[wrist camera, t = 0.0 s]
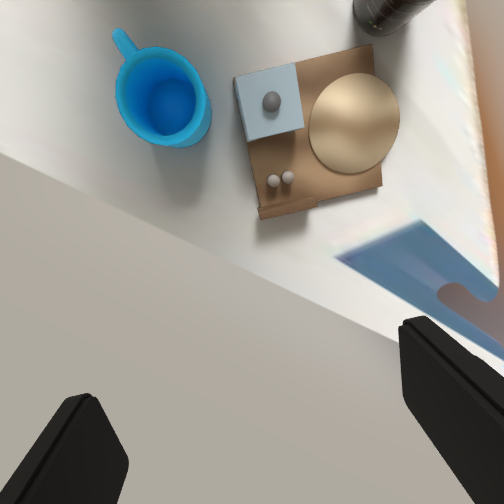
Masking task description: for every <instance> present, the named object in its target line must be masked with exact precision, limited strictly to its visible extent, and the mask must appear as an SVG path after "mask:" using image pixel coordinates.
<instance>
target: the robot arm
mask: <svg viewBox="0 0 504 504" xmlns="http://www.w3.org/2000/svg"><path fill="white" fill-rule="evenodd" d="M398 333H399V346H400V347H399V348H400V362H401V377H402V390H403V397H404V400H405V403H406V405H407V407H408V408H409V410H410V411H411V412H412V414H413V415H414V417H415V418H416V420H417V421H418V423H419V424H420V425H421V427H422V428H423V430H424V431H425V433H426V434H427V435H428V437H429V438H430V440H431V441H432V442H433V444H434V446H435V447H436V448H437V450H438V451H439V453H440V454H441V456H442V457H443V458H444V460H445V461H446V463H447V464H448V465H449V467H450V469H451V470H452V471H453V473H454V474H455V476H456V477H457V479H458V480H459V481H460V483H461V484H462V486H463V487H464V489H465V490H466V491H467V493H468V494H469V496H470V497H471V498H472V500H473V502H474V503H475V504H504V377H503V376H502V375H500V374H499V373H498V372H497V371H495V370H494V369H493V368H492V367H491V366H489V365H488V364H487V363H486V362H484V361H483V360H482V359H480V358H479V357H477V356H475V355H473V354H472V353H470V352H469V351H468V350H467V349H466V348H464V347H463V346H462V345H461V344H459V343H458V342H457V341H456V340H455V339H453V338H452V337H451V336H450V335H449V334H447V333H446V332H445V331H444V330H443V329H441V328H440V327H439V326H438V325H436V324H435V323H434V322H433V321H432V320H430V319H429V318H428V317H426V316H418V317H414V318H410V319H405V320H404V321H403V325H402V326H399V328H398ZM128 467H129V460H128V456H127V454H126V452H125V451H124V449H123V447H122V445H121V443H120V441H119V439H118V437H117V435H116V433H115V431H114V430H113V427H112V426H111V424H110V422H109V420H108V418H107V416H106V414H105V412H104V410H103V408H102V407H101V404H100V402H99V401H98V399H97V398H96V397H93V396H92V395H91V394H89V393H85V394H80V395H76V396H72V397H68V398H66V399H65V400H64V402H63V403H62V404H61V406H60V407H59V409H58V410H57V412H56V413H55V414H54V416H53V417H52V419H51V420H50V422H49V423H48V424H47V426H46V427H45V429H44V430H43V432H42V433H41V434H40V436H39V437H38V439H37V440H36V442H35V443H34V445H33V446H32V448H31V449H30V450H29V452H28V453H27V455H26V456H25V458H24V459H23V461H22V462H21V463H20V465H19V466H18V468H17V469H16V471H15V472H14V474H13V475H12V476H11V478H10V479H9V481H8V482H7V484H6V485H5V486H4V488H3V490H2V491H1V492H0V504H117V502H118V499H119V496H120V493H121V490H122V487H123V483H124V481H125V478H126V475H127V472H128Z"/></svg>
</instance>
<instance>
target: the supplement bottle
mask: <svg viewBox="0 0 504 504" xmlns="http://www.w3.org/2000/svg"><path fill="white" fill-rule="evenodd" d="M434 1H436V0H354V11H355V15H356V18H357V21H358V22H359V24H360V26H361V27H362V28H363V29H364V30H365V31H366V32H368V33H370V34H372V35H376V36H384V35H388V34H391V33H393V32H395V31H396V30H398V29H399V28H401V27H402V26H403V25H405V24H406V23H407V22H408V21H410V20H411V19H412V18H414V17H415V16H416V15H418V14H419V13H420V12H421V11H423V10H424V9H425V8H427V7H428V6H429V5H431V4H432V3H433V2H434Z"/></svg>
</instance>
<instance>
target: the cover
mask: <svg viewBox="0 0 504 504" xmlns="http://www.w3.org/2000/svg"><path fill="white" fill-rule="evenodd" d="M235 89H236V93H237V98H238V102H239V107H240V112H241V116H242V121H243V126H244V130H245V135H246V139H247V142H251V141H255V140H257V139H259V138H263V137H267V136H271V135H275V134H279V133H284V132H293V131H296V130H299V129H301V128H304V127H305V126H304V120H303V113H302V107H301V100H300V94H299V87H298V81H297V74H296V67H295V63H290V64H286V65H282V66H278V67H274V68H270V69H266V70H262V71H257V72H253V73H249V74H245V75H241V76H237V77H235Z"/></svg>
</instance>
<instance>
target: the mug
mask: <svg viewBox="0 0 504 504" xmlns="http://www.w3.org/2000/svg"><path fill="white" fill-rule="evenodd" d="M112 38H113V41H114V42H115V44H116V46H117V47H118V49H119V50H120V52H121V53H122V55H123V56H124V58H125V59H126V61H125V63H124V64H123V65H122V66H121V68H120V71H119V74H118V77H117V80H116V101H117V105H118V108H119V112H120V114H121V116H122V117H123V119H124V121H125V122H126V124H127V126H128V127H129V128H130V129H131V130H132V131H133V132H134V133H135V134H136V135H137V136H139V137H140V138H142V139H144V140H146V141H148V142H150V143H153V144H159V145H164V146H171V147H177V148H182V147H189V146H191V145H193V144H195V143H197V142H199V141H200V140H201V139H202V137H203V136H204V135H205V134H206V133H207V130H208V128H209V126H210V123H211V115H212V111H211V105H210V100H209V98H208V95H207V93H206V90H205V88H204V86H203V83H202V81H201V79H200V77H199V75H198V73H197V71H196V69H195V68H194V67H193V66H192V65H191V64H190V63H189V61H188V60H187V59H186V58H185V57H183V56H181V55H180V54H178V53H177V52H175V51H173V50H171V49H167V48H162V47H157V46H156V47H150V48H143V49H141V50H139V49H138V48H137V47H136V46H135V44H134V43H133V42H132V40H131V39H130V38H129V37H128V35H127V34H126V33H125V32H124V31H123V30H122V29H120V28H116V29H115V30H114V31H113V33H112Z"/></svg>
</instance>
